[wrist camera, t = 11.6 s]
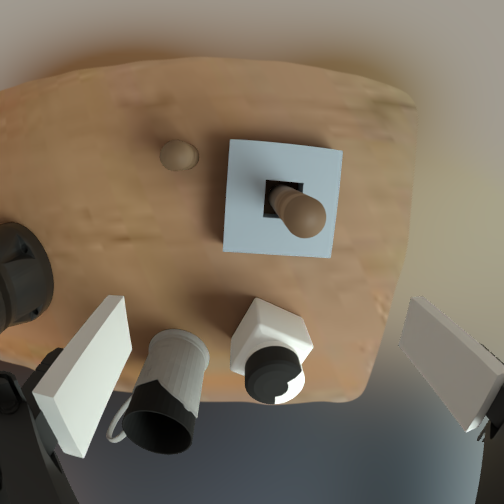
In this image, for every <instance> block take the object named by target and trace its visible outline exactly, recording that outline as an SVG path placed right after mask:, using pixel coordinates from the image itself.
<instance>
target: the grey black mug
mask: <svg viewBox="0 0 504 504" xmlns="http://www.w3.org/2000/svg"><path fill="white" fill-rule="evenodd" d="M208 364H209V352H208V349H207V347H206V346H205V344H204V343H203V342H202V341H201V340H200V339H199V338H198V337H197V336H195V335H194V334H192V333H190V332H187V331H185V330H180V329H168V330H164V331H161V332H159V333H158V334H156V335H155V336H154V337H153V338H152V340H151V342H150V345H149V354H148V356H147V359H146V361H145V363H144V366H143V368H142V370H141V372H140V375H139V377H138V379H137V382H136V384H135V387H134V389H133V395H132V396H131V397H130V398H129V399H128V400H127V401H126V402H125V403H124V404H123V406H122V407H121V408H120V409H119V411H118V412H117V414H116V415H115V417H114V418H113V420H112V422H111V424H110V426H109V428H108V431H107V439H108V440H109V441H111V442H113V443H116V442H119V441H121V440H122V439H123V438H124V437H125V436H126V435H127V437H128V438H129V439H130V440H131V441H132V442H134V443H135V444H136V445H138V446H140V447H141V448H143V449H146V450H148V451H151V452H154V453H159V454H167V455H170V454H178V453H182V452H184V451H186V450H187V449H188V448H189V447H190V446H191V444H192V439H193V432H194V425H195V418H197V416H198V409H199V402H200V396H201V389H202V382H203V376H204V371H205V370H206V368H207V366H208ZM126 409H127V410H126ZM125 410H126V413H125V415H124V418H123V421H122V428H123V431H122V432H121V433H120V434H119V435H118V436H116V437H114V438H111V436H112V432H113V430H114V428H115V426H116V424H117V422H118V420H119V419H120V417H121V416H122V414H123V413H124V411H125Z"/></svg>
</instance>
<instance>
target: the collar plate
mask: <svg viewBox="0 0 504 504" xmlns="http://www.w3.org/2000/svg"><path fill="white" fill-rule="evenodd" d="M342 154H343V151H340V150H334V149H327V148H319V147H312V146H303V145H295V144H285V143H275V142H264V141H252V140H237V139H230V147H229V161H228V175H227V190H226V206H225V224H224V242H223V252H240V253H256V254H272V255H289V256H305V257H321V258H331V251H332V244H333V237H334V229H335V221H336V213H337V205H338V196H339V186H340V176H341V165H342ZM266 180H276V181H287V182H298V191H300V192H302V193H304V194H306V195H308V196H310V197H313V198H315V199H317V200H318V201H319V202H320V203H321V204H322V205H323V207H324V208H325V211H326V223H325V226H324V228H323V229H322V231H321V232H320V233H319V234H317V235H316V236H314V237H311V238H299V237H297V236H295V235H293V234H292V233H291V232H290V231H289V230H288V228H287V227H286V225H285V224H284V223H283V221H282V220H281V219H280V217H279V216H278V215H277V214H267V213H263V210H264V198H265V186H266Z"/></svg>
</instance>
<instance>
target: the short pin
mask: <svg viewBox="0 0 504 504" xmlns="http://www.w3.org/2000/svg"><path fill="white" fill-rule="evenodd" d="M160 160H161V163H162V164H163V166H164V167H165V168H167V169H168V170H171V171H179V170H188V169H191V168H193V167H194V166H195V165H196V164H197V163H198V160H199V153H198V150H197V149H196V148H195V147H194V146H193V145H190V144H188V143H185V142H183V141H180V140H172V141H169V142H167V143H166V144H165V145H164V146H163V147H162V149H161V152H160Z"/></svg>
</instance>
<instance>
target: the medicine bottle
mask: <svg viewBox="0 0 504 504" xmlns="http://www.w3.org/2000/svg"><path fill="white" fill-rule="evenodd" d="M312 349H313V344H312V341H311V339H310V336H309V333H308V331H307V328H306V326H305V323H304V320H303V318H302V317H300V316H297V315H295V314H293V313H291V312H288V311H286V310H284V309H282V308H280V307H277V306H275V305H273V304H271V303H269V302H266V301H264V300H262V299H260V298H257V297H256V298H255V299H254V300H253V302H252V304H251V305H250V307H249V309H248V311H247V312H246V314H245V316H244V318H243V319H242V321H241V323H240V324H239V326H238V328H237V329H236V331H235V333H234V335H233V336H232V338H231V354H230V370H231V371H233V372H236V373H238V374H241V375H244V376H245V388H246V391H247V392H248V394H249V395H250V396H251V397H252V398H253V399H255V400H257V401H259V402H262V403H266V404H279V403H283V402H286V401H289V400H291V399H292V398H294V397H295V396H296V395H297V394H298V393H299V392H300V391H301V390H302V388H303V386H304V382H305V377H304V373H303V369H302V366H301V364H302V363H303V361H304V360H305V358H306V357H307V356H308V354H309V353H310V351H311V350H312Z"/></svg>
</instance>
